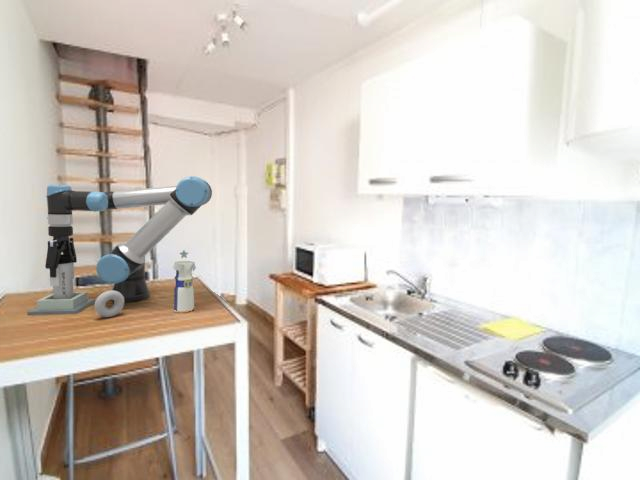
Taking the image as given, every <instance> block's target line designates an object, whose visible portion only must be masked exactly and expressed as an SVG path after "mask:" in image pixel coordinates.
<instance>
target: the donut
mask: <svg viewBox="0 0 640 480" xmlns="http://www.w3.org/2000/svg"><path fill="white" fill-rule="evenodd" d="M111 299H112V300H114V301H113V305H112V306H111V307H106V304H107V302H108V301H109V300H110V301H111ZM125 303H126V302H125V301H124V297H123V295H122V294H121V293H119V292H118V291H114V290H112V289H111V290H105V291H104V292H102V293H101V294H99V295H98V296H97V297H96V298H95V302H94V303H93V304H94V305H93V307H94V310H95V312H96V315H98V316H99V317H103V318H111V317H114V316H117V315H118V314H119V313H120V312H121V311H122V310H123V308H124V306H125Z"/></svg>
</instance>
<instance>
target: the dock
mask: <svg viewBox="0 0 640 480" xmlns="http://www.w3.org/2000/svg"><path fill="white" fill-rule="evenodd" d="M95 301H96V298H88V291H73V298H71V299H53V292H52V293H50V294H48V295H46V296H44V297H41V298H40V299H38V300H36V302H37V303H36V305H37V306H36V307H34V308H32V309H30V310H28V311H27V316H39V315H46V316H47V315H75V314H79V313H81V312H82V311H83V310H85V309H87V308H88V307H89V306H91V305H93V304H95Z"/></svg>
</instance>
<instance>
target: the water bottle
mask: <svg viewBox="0 0 640 480" xmlns="http://www.w3.org/2000/svg"><path fill="white" fill-rule="evenodd" d="M179 254H180V255H181V259H184V258H188V257H187V255H189V252H186V250H185V249H183V250H182V252H179ZM172 269H173V270H175V272H176V273H175V276H174V280H175V286H174V295H173V301H174V302H173V311H174V310H176V311H186V310H190V309H192V308H194V309H195V298H194V295H195V294H194V293H195V292H194V286H193V279H194V276H193V273H192V272H194V271H195V270H196V264H195V261H191V260H189V261H188V260H181V261H175V262H174V263H173V265H172Z"/></svg>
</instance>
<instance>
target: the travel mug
mask: <svg viewBox="0 0 640 480" xmlns="http://www.w3.org/2000/svg"><path fill="white" fill-rule="evenodd" d="M57 268H59V282H60V285H59V286H52V293H53V299H71V298H73V292H74V279H73V277H72V261H71V256H70V255H64V254H63V253H61V256H60V260H59V263H58V267H57Z"/></svg>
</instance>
